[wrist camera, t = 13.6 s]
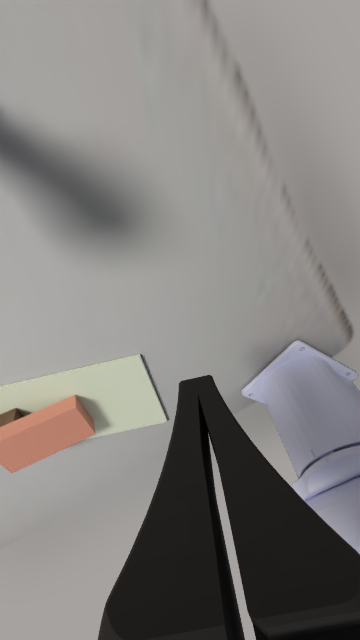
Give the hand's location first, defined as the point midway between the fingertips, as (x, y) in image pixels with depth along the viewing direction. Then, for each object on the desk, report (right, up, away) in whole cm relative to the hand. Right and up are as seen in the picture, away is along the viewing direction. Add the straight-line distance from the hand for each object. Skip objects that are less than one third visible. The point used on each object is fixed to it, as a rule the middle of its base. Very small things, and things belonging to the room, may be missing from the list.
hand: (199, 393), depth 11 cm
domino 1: (-10, -6, +14) cm, 18 cm away
